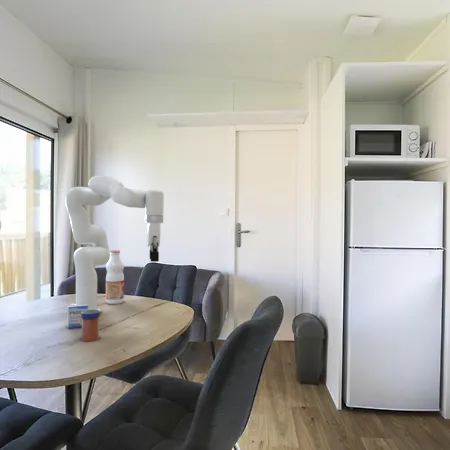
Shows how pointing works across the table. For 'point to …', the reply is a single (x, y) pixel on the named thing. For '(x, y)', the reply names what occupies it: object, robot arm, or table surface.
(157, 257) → the robot arm
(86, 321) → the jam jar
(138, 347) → the table surface
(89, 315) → the jam lid
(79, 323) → the medicine box
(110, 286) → the fruit juice
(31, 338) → the table surface
